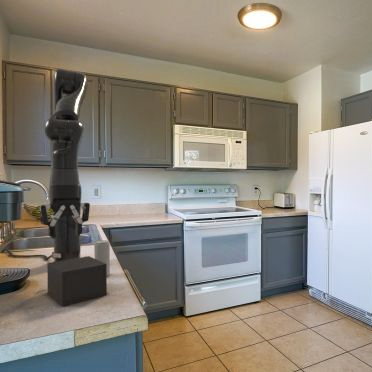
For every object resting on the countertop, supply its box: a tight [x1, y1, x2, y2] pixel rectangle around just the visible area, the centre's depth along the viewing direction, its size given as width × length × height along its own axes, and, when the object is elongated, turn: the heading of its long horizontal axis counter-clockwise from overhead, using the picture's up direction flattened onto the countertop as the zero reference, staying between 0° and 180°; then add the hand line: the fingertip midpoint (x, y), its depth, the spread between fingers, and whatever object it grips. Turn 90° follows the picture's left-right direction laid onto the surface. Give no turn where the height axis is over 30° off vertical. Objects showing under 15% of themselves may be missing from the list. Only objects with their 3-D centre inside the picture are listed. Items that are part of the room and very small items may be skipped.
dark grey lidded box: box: [46, 255, 108, 307], centre depth 92 cm, size 14×12×9 cm
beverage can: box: [93, 239, 111, 277], centre depth 110 cm, size 5×5×12 cm
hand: (65, 236), depth 98 cm, fingers open, 6 cm apart
